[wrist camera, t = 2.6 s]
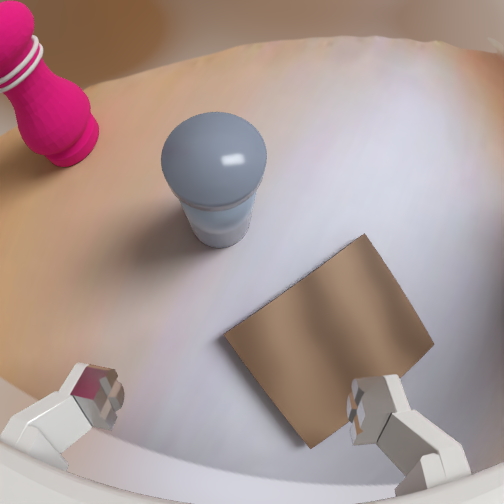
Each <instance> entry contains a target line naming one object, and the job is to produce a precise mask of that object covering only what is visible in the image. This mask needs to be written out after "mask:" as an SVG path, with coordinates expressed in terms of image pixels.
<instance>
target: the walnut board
mask: <svg viewBox="0 0 504 504" xmlns="http://www.w3.org/2000/svg"><path fill="white" fill-rule="evenodd" d="M224 336H225V337H226V339H227V340H228V342H229V343H230V344H231V346H232V347H233V349H234V350H235V351H236V353H237V354H238V356H239V357H240V358H241V360H242V361H243V363H244V364H245V365H246V367H247V368H248V369H249V371H250V372H251V373H252V375H253V376H254V378H255V379H256V380H257V382H258V383H259V384H260V386H261V387H262V388H263V390H264V391H265V392H266V393H267V395H268V396H269V397H270V399H271V400H272V401H273V403H274V404H275V405H276V407H277V408H278V409H279V410H280V412H281V413H282V414H283V415H284V417H285V418H286V419H287V421H288V422H289V423H290V424H291V426H292V427H293V428H294V429H295V431H296V432H297V433H298V434H299V436H300V437H301V438H302V439H303V440H304V442H305V443H306V444H307V445H308V447H309V448H310V449H312V448H313V447H315V446H316V445H317V444H319V443H320V442H322V441H323V440H325V439H326V438H327V437H329V436H330V435H332V434H333V433H334V432H336V431H337V430H338V429H340V428H341V427H342V426H344V425H345V424H346V423H348V422H349V420H348V416H347V399H348V395H349V394H350V393H351V392H352V387H351V385H352V381H353V380H354V378H363V377H373V376H384V375H393V374H397V375H398V376H399V378H401V377H402V376H403V375H404V374H405V373H406V372H407V371H408V370H409V369H410V368H411V367H412V366H414V365H415V364H416V363H417V362H418V361H419V360H420V359H421V358H422V357H423V356H424V355H425V354H426V353H427V352H428V350H429V349H430V348H431V347H432V346H433V345H434V343H433V341H432V339H431V337H430V336H429V334H428V332H427V330H426V329H425V327H424V325H423V324H422V322H421V320H420V318H419V317H418V315H417V313H416V312H415V310H414V308H413V307H412V305H411V303H410V302H409V300H408V299H407V297H406V295H405V294H404V292H403V290H402V289H401V287H400V286H399V284H398V283H397V281H396V279H395V278H394V276H393V275H392V273H391V272H390V270H389V269H388V267H387V266H386V264H385V263H384V261H383V260H382V258H381V257H380V255H379V254H378V252H377V251H376V249H375V248H374V246H373V245H372V243H371V242H370V240H369V239H368V238H367V236H366V235H365V234H363V235H361V236H360V237H358V238H357V239H356V240H354V241H353V242H352V243H350V244H349V245H348V246H346V247H345V248H344V249H342V250H341V251H340V252H338V253H337V254H336V255H334V256H333V257H332V258H330V259H329V260H328V261H326V262H325V263H324V264H322V265H321V266H320V267H318V268H317V269H316V270H314V271H313V272H311V273H310V274H309V275H307V276H306V277H305V278H303V279H302V280H300V281H299V282H298V283H296V284H295V285H293V286H292V287H291V288H289V289H288V290H286V291H285V292H284V293H282V294H281V295H279V296H278V297H277V298H275V299H274V300H272V301H271V302H270V303H268V304H267V305H265V306H264V307H262V308H261V309H259V310H258V311H257V312H255V313H254V314H252V315H251V316H249V317H248V318H246V319H245V320H244V321H242V322H241V323H239V324H238V325H236V326H235V327H233V328H232V329H230V330H229V331H227V332H226V333H224Z"/></svg>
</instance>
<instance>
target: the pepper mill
mask: <svg viewBox="0 0 504 504" xmlns="http://www.w3.org/2000/svg"><path fill="white" fill-rule="evenodd" d="M33 31H34V18H33V16H32V14H31V11H30V10H29V9H28V8H27V7H26V6H25V5H24V4H22V3H20V2H17V1H5V2H1V3H0V93H4V94H5V95H6V96H7V97H8V99H9V100H10V101H11V103H12V105H13V107H14V110H15V114H16V118H17V123H18V128H19V131H20V134H21V136H22V138H23V140H24V142H25V143H26V144H27V146H28V147H29V148H30V149H31V150H32V151H33V152H35V153H38V154H41V155H45V156H46V157H47V158H48V159H49V160H50V161H51V162H52V163H53V164H54V165H56V166H60V167H68V166H71V165H74V164H76V163H78V162H80V161H82V160H83V159H84V158H85V157H86V156H87V155H88V154H89V153H90V152H91V151H92V149H93V148H94V146H95V144H96V142H97V139H98V135H99V126H98V123H97V122H96V120H95V118H94V117H93V115H92V114H91V112H90V109H91V108H90V102H89V99H88V97H87V96H86V94H85V93H84V92H83V91H82V89H81V88H80V87H78V86H77V85H76V84H74V83H73V82H71V81H68V80H66V79H64V78H61V77H58V76H56V75H55V74H54V73H52V72H51V71H50V70H49V68H48V67H47V66H46V64H45V63H44V61H43V59H42V54H43V47H42V45H41V44H39V41H38V38H37V37H36V36H33V35H32V34H33Z"/></svg>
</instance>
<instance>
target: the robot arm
mask: <svg viewBox="0 0 504 504" xmlns="http://www.w3.org/2000/svg"><path fill="white" fill-rule="evenodd" d="M117 377H118V375H117V373H116V371H115V369H111V368H105V367H100V366H96V365H91V364H85V363H81V362H79V363H77V364H75V366H74V367H73V369H72V371H71V372H70V374H69V375H68V377H67V379H66V380H65V382H64V383H63V385H62V387H61V388H60V390H59V392H57V391H55V392H53V393H51V394H50V395H48V396H46V397H45V398H43V399H41V400H39V401H38V402H36V403H34V404H32V405H31V406H29V407H27V408H26V409H24V410H22V411H20V412H19V413H17V414H15V415H13V416H12V417H11V419H10V420H9V422H8V424H7V425H6V427H5V429H4V430H3V432H2V434H1V436H0V504H191V503H184V502H178V501H172V500H167V499H161V498H156V497H151V496H147V495H142V494H138V493H134V492H130V491H126V490H122V489H118V488H115V487H112V486H108V485H104V484H101V483H98V482H95V481H92V480H89V479H86V478H83V477H80V476H78V475H75V474H72V473H69V472H67V468H68V462H67V461H66V460H65V459H64V458H63V457H62V456H61V455H60V454H61V453H62V452H63V451H65V450H66V449H67V448H68V447H69V446H71V445H72V444H73V443H74V442H76V441H77V440H78V439H79V438H80V437H82V436H83V435H84V434H85V433H86V432H88V431H89V430H90V429H91V428H92V427H97V428H101V429H106V430H111V431H112V429H113V426H114V424H115V421H116V419H117V415H116V411H117V410H119V409H120V408H121V407H122V405H123V402H124V389H123V386H122V384H121V383H120V382H118V381H117V380H116V379H117ZM351 387H352V392H351V393H350V394H349V395H348V399H347V416H348V420H349V421H350V422H351V423H352V425H351V428H350V433H351V439H352V444H353V445H363V444H373V443H377V446H378V447H379V448H380V449H381V450H382V451H383V452H384V453H385V454H386V455H387V456H388V458H389V459H390V460H391V461H392V462H393V463H394V464H395V465H396V466H397V467H398V468H399V469H400V470H401V471H402V473H403V474H404V475H405V476H406V477H405V478H404V479H403V480H402V482H401V483H400V484H399V485H398V486H397V487H396V488H395V494H396V497H392V498H387V499H383V500H377V501H371V502H365V503H358V504H504V461H503V462H501V463H499V464H496V465H494V466H492V467H489V468H487V469H485V470H482V471H480V472H477V473H474V474H472V473H471V470H470V467H469V464H468V462H467V459H466V456H465V453H464V451H463V448H462V445H461V444H460V443H458V442H457V441H456V440H454V439H453V438H452V437H450V436H449V435H448V434H446V433H445V432H444V431H443V430H441V429H440V428H439V427H437V426H436V425H435V424H433V423H432V422H431V421H429V420H428V419H427V418H425V417H424V416H423V415H421V414H420V413H419V412H418V411H416V410H411V408H410V406H409V403H408V400H407V397H406V394H405V392H404V389H403V386H402V384H401V381H400V378H399V376H398V375H397V374H393V375H384V376H373V377H363V378H354V380H353V381H352V385H351Z"/></svg>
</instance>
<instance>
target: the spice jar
mask: <svg viewBox="0 0 504 504" xmlns="http://www.w3.org/2000/svg"><path fill="white" fill-rule="evenodd" d="M266 160H267V151H266V146H265V143H264V140H263V138H262V136H261V135H260V133H259V132H258V131H257V129H256V128H255V127H254V126H253V125H252V124H250V123H249V122H248V121H246V120H244V119H243V118H241V117H238V116H236V115H233V114H229V113H223V112H209V113H203V114H199V115H196V116H193V117H191V118H189V119H187V120H185V121H184V122H182V123H181V124H180V125H178V126H177V127H176V128H175V129H174V130H173V131H172V132H171V134H170V135H169V136H168V138H167V140H166V141H165V144H164V146H163V150H162V155H161V166H162V171H163V174H164V176H165V179H166V181H167V183H168V185H169V187H170V189H171V191H172V192H173V193H174V195H175V196H176V197H177V198H178V199H179V201H180V203H181V206H182V208H183V210H184V212H185V215H186V217H187V219H188V221H189V224H190V226H191V228H192V230H193V232H194V234H195V236H196V237H197V238H198V239H199V240H200V241H201V242H202V243H204V244H206V245H208V246H211V247H215V248H224V247H229V246H232V245H234V244H236V243H237V242H239V241H240V240H241V239H242V238H243V237H244V236H245V234H246V232H247V230H248V228H249V224H250V220H251V215H252V210H253V205H254V200H255V195H256V190H257V189H258V187H259V185H260V183H261V181H262V178H263V174H264V170H265V166H266Z"/></svg>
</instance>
